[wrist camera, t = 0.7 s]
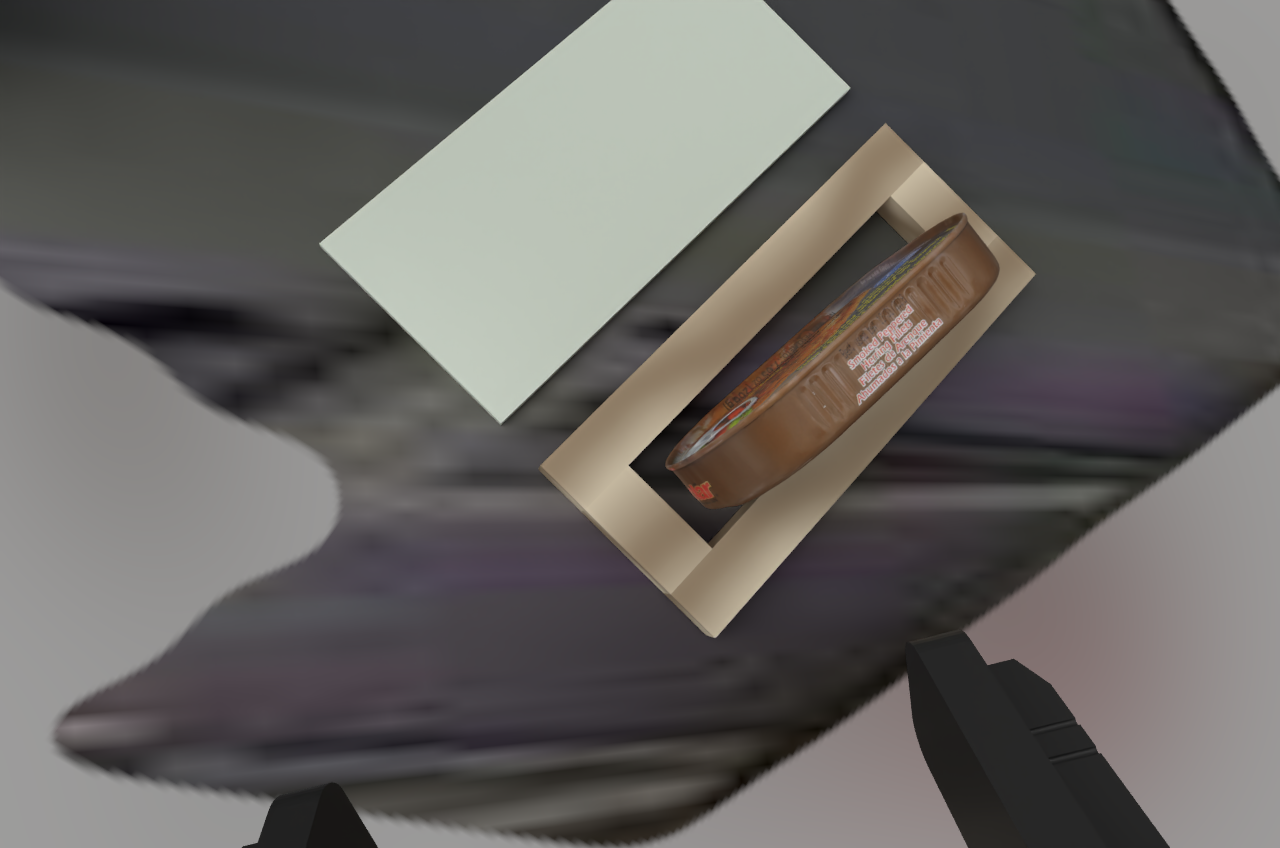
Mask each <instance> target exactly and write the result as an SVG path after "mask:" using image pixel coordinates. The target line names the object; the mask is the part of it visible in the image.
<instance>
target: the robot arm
mask: <svg viewBox="0 0 1280 848" xmlns="http://www.w3.org/2000/svg"><path fill="white" fill-rule="evenodd" d="M905 650H906V661H907V670H908V680H909V690H910V699H911V709H912V718H913V723H914V728H915V732H916V735H917V739H918V742H919V745H920V748H921V751H922V753H923V756H924V758H925V761H926V763H927V765H928V767H929V769H930V771H931V773H932V775H933V777H934V779H935V781H936V784H937V786H938V788H939V790H940V792H941V793H942V796H943V798H944V799H945V802H946V804H947V806H948V808H949V810H950V812H951V814H952V816H953V818H954V820H955V822H956V824H957V826H958V828H959V830H960V832H961V834H962V836H963V838H964V840H965V842H966V844H967V846H968V848H1170V847H1169V846H1168V844H1167V843H1166V842H1165V840H1164V839H1163V838H1162V836H1161V835H1160V833H1159V832H1158V831H1157V829H1156V828H1155V826H1154V825H1153V824H1152V822H1151V821H1150V820H1149V818H1148V817H1147V816H1146V814H1145V813H1144V811H1143V810H1142V809H1141V807H1140V806H1139V805H1138V803H1137V802H1136V801H1135V799H1134V798H1133V796H1132V795H1131V794H1130V792H1129V791H1128V790H1127V788H1126V787H1125V785H1124V784H1123V783H1122V781H1121V780H1120V779H1119V777H1118V776H1117V775H1116V773H1115V772H1114V770H1113V769H1112V768H1111V766H1110V765H1109V763H1108V762H1107V761H1106V759H1105V758H1104V757H1103V756H1102V754H1101V753H1100V754H1099V753H1098V751H1097V749H1096V746H1095V744H1094V743H1093V742H1092V740H1091V739H1090V738H1089V736H1088V735H1087V734H1086V732H1085V731H1084V729H1083V728H1082V727H1081V725H1078V724H1077V722H1076V720H1075V717H1074V716H1073V714H1072V713H1071V712H1070V710H1069V709H1068V707H1067V706H1066V705H1065V703H1064V702H1063V701H1062V699H1061V698H1060V697H1059V695H1058V694H1057V692H1056V691H1055V690H1054V688H1053V687H1052V685H1051V684H1050V683H1048V682H1047V681H1045V680H1044V679H1042V678H1041V677H1039V676H1038V675H1037V674H1035V673H1034V672H1032V671H1031V670H1029V669H1028V668H1026V667H1025V666H1023V665H1022V664H1021V663H1019V662H1018V661H1016V660H1015V659H1011V660H1008V661H1003V662H999V663H996V664H991V665H987V664H986V663H985V661H984V659H983V658H982V656H981V655H980V653H979V652H978V650H977V649H976V647H975V646H974V644H973V643H972V641H971V640H970V638H969V637H968V636H967V634H966V633H965V632H964V631H962V630H955V631H951V632H947V633H943V634H939V635H935V636H931V637H927V638H923V639H919V640H915V641H910V642H907V643H906V649H905ZM242 848H378V847H377V845H376V844H375V842H374V840H373V838H372V837H371V835H370V834H369V832H368V830H367V829H366V827H365V825H364V824H363V822H362V820H361V819H360V817H359V815H358V814H357V812H356V811H355V809H354V807H353V806H352V804H351V802H350V801H349V799H348V797H347V796H346V794H345V792H344V791H343V789H342V788H341V787H340V786H339V785H338V784H336V783H328V784H324V785H320V786H316V787H312V788H307V789H303V790H299V791H295V792H291V793H287V794H283V795H280V796H278V797H277V798H276V799H275V800H274V801H273V803H272V804H271V806H270V809H269V811H268V814H267V817H266V820H265V823H264V826H263V829H262V832H261V835H260V838H259V841H258V843H255V844H251V845H247V846H243V847H242Z"/></svg>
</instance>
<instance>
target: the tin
mask: <svg viewBox="0 0 1280 848" xmlns="http://www.w3.org/2000/svg"><path fill="white" fill-rule="evenodd" d="M999 271H1000V267H999V263H998V261H997V260H996V258H995V256H994V255H993V253H992V252H991V251H990V249H989V248H988V247H987V245H986V244H985V243H984V242H983V240H982V239H981V238H980V236H979V235H978V234H977V233H976V231H975V230H974V229H973V228H972V226H971V225H970V224H969V222H968V218H967V215H966V214H965V213H958V214H955V215H953V216H951V217H949V218H947V219H945V220H943V221H942V222H940V223H938V224H936V225H935V226H933V227H932V228H930V229H929V230H927V231H926V232H924V233H923V234H921V235H920V236H918V237H917V238H915V239H914V240H912V241H911V242H910V243H908V244H907V245H906V246H904V247H903V248H901V249H900V250H899V251H897V252H896V253H894V254H893V255H891V256H890V257H889V258H887V259H886V260H884V261H883V262H881V263H880V264H879V265H877V266H876V267H874V268H873V269H872V270H870V271H869V272H868V273H867V274H865V275H864V276H863V277H862V278H860V279H859V280H858V281H857V282H856V283H854V284H853V285H852V286H851V287H849V288H848V289H847V290H846V291H845V292H843V293H842V294H841V295H840V296H839V297H838V298H837V299H836V300H834V301H833V302H832V303H831V304H830V305H828V306H827V307H826V308H825V309H824V310H823V311H822V312H820V313H819V314H818V315H817V316H816V317H815V318H814V319H813V320H812V321H810V322H809V323H808V324H807V325H806V326H805V327H803V328H802V329H801V330H800V331H799V332H798V333H797V334H796V335H795V336H794V337H792V338H791V339H790V340H789V341H788V342H787V343H786V344H785V345H784V346H782V347H781V348H780V349H779V350H778V351H777V352H776V353H775V354H773V355H772V356H771V357H770V358H769V359H768V360H767V361H766V362H764V363H763V364H762V365H761V366H760V367H759V368H758V369H757V370H755V371H754V372H753V373H752V374H751V375H750V376H749V377H748V378H746V379H745V380H744V381H743V382H742V383H741V384H740V385H738V386H737V387H736V388H735V389H734V390H733V391H732V392H731V393H730V394H728V395H727V396H726V397H725V398H724V399H723V400H722V401H721V402H720V403H718V404H717V405H716V406H715V407H714V408H713V409H712V410H711V411H710V412H709V413H707V414H706V415H705V416H704V417H703V418H702V419H701V420H700V421H699V422H698V423H697V424H696V425H695V426H694V427H693V428H692V429H691V430H690V431H689V432H688V433H687V434H686V435H685V436H684V437H683V438H682V439H681V441H680V442H679V443H678V444H677V445H676V446H675V447H674V449H673V450H672V452H671V453H670V455H669V456H668V458H667V460H666V464H665V466H666V468H667V469H668V470H671V471H673V472H674V473H675V474H676V475H677V477H678V478H679V479H680V480H681V481H682V482H683V483H684V485H685V486H686V487H687V488H688V490H689V491H690V492H691V493H692V495H693V496H694V497H695V498H696V499H697V500H698V501H699V502H700V503H701V504H702V505H703V506H704V507H706V508H708V509H719V508H724V507H732V506H738V505H742V504H745V503H747V502H750V501H752V500H754V499H755V498H757V497H759V496H761V495H763V494H764V493H766V492H768V491H769V490H771V489H772V488H774V487H776V486H777V485H779V484H780V483H782V482H783V481H785V480H786V479H788V478H789V477H791V476H792V475H793V474H795V473H796V472H797V471H799V470H800V469H801V468H803V467H804V466H805V465H807V464H808V463H809V462H810V461H812V460H813V459H814V458H815V457H816V456H818V455H819V454H820V453H821V452H823V451H824V450H825V449H826V448H827V447H829V446H830V445H831V444H832V443H833V442H834V441H835V440H836V439H837V438H839V437H840V436H841V435H842V434H843V433H844V432H845V431H846V430H847V429H848V428H849V427H850V426H851V425H852V424H853V423H855V422H856V421H857V420H858V419H859V418H860V417H861V416H862V415H863V414H864V413H865V412H866V411H867V410H869V409H870V408H871V407H872V406H873V405H874V404H875V403H876V402H877V401H878V400H879V399H880V398H881V397H882V396H883V395H884V394H885V393H887V392H888V391H889V390H890V389H891V388H892V387H893V386H894V385H895V384H896V383H897V382H898V381H899V380H900V379H901V378H902V377H904V376H905V375H906V374H907V373H908V372H909V371H910V370H911V369H912V368H913V367H914V366H915V365H916V364H917V363H918V362H919V361H920V360H921V359H922V358H923V357H924V356H925V355H926V354H927V353H928V352H930V351H931V350H932V349H933V348H934V347H935V346H936V345H937V344H938V343H939V342H940V341H941V340H942V339H943V338H944V337H945V336H946V335H947V334H948V333H949V332H950V331H951V330H952V329H953V328H954V327H955V326H956V325H957V324H958V323H959V322H960V321H961V320H962V319H963V318H964V317H965V316H966V315H967V314H968V313H969V312H970V311H971V310H972V309H974V308H975V306H976V305H977V304H978V303H979V302H980V301H981V300H982V299H983V298H984V297H985V295H986V294H987V293H988V292H989V290H990V289H991V288H992V286H993V285H994V283H995V282H996V280H997V278H998V275H999Z"/></svg>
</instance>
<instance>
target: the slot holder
mask: <svg viewBox="0 0 1280 848" xmlns="http://www.w3.org/2000/svg"><path fill="white" fill-rule="evenodd" d="M875 212H877V213H878V214H879V215H880V216H881V217H882V218H883V219H884V220H885V221H886V222H887V223H888V224H889V225H890V226H891V227H892V228H893V229H894V230H895V231H896V232H897V233H898V234H899V235H900V236H901V237H902V238H903V239H904V240H905V241H906V242H907V243H910V242H911V241H912V240H914V239H915V238H917V237H918V236H920V235H921V234H923V233H924V232H926V231H927V230H929V229H930V228H932V227H933V226H935V225H936V224H938V223H940V222H942V221H943V220H945V219H947V218H949V217H951V216H953V215H955V214H958V213H965V214H966V215H967V218H968V222H969V224H970V225H971V226H972V228H973V229H974V230H975V231H976V233H977V234H978V235H979V236H980V238H981V239H982V240H983V242H984V243H985V244H986V245H987V247H988V248H989V249H990V251H991V252H992V253H993V255H994V256H995V258H996V260H997V261H998V263H999V267H1000V271H999V275H998V278H997V280H996V282H995V283H994V285H993V286H992V288H991V289H990V290H989V292H988V293H987V294H986V295H985V297H984V298H983V299H982V300H981V301H980V302H979V303H978V304H977V305H976V306H975V308H974V309H972V310H971V311H970V312H969V313H968V314H967V315H966V316H965V317H964V318H963V319H962V320H961V321H960V322H959V323H958V324H957V325H956V326H955V327H954V328H953V329H952V330H951V331H950V332H949V333H948V334H947V335H946V336H945V337H944V338H943V339H942V340H941V341H940V342H939V343H938V344H937V345H936V346H935V347H934V348H933V349H932V350H931V351H930V352H928V353H927V354H926V355H925V356H924V357H923V358H922V359H921V360H920V361H919V362H918V363H917V364H916V365H915V366H914V367H913V368H912V369H911V370H910V371H909V372H908V373H907V374H906V375H905V376H904V377H902V378H901V379H900V380H899V381H898V382H897V383H896V384H895V385H894V386H893V387H892V388H891V389H890V390H889V391H888V392H887V393H885V394H884V395H883V396H882V397H881V398H880V399H879V400H878V401H877V402H876V403H875V404H874V405H873V406H872V407H871V408H870V409H869V410H867V411H866V412H865V413H864V414H863V415H862V416H861V417H860V418H859V419H858V420H857V421H856V422H855V423H853V424H852V425H851V426H850V427H849V428H848V429H847V430H846V431H845V432H844V433H843V434H842V435H841V436H840V437H839V438H837V439H836V440H835V441H834V442H833V443H832V444H831V445H830V446H829V447H827V448H826V449H825V450H824V451H823V452H821V453H820V454H819V455H818V456H816V457H815V458H814V459H813V460H812V461H810V462H809V463H808V464H807V465H805V466H804V467H803V468H801V469H800V470H799V471H797V472H796V473H795V474H793V475H792V476H791V477H789V478H788V479H786V480H785V481H783V482H782V483H780V484H779V485H777V486H776V487H774V488H772V489H771V490H769V491H768V492H766V493H764V494H763V495H761V496H759V497H757V498H755V499H754V500H752V501H750V502H747V503H745V504H744V505H743V506H742V507H741V508H740V509H739V510H738V511H737V512H736V513H735V514H734V516H733V517H732V518H731V519H730V520H729V521H728V522H727V523H726V524H725V525H724V526H723V528H722V529H721V530H720V531H719V532H718V533H717V534H716V535H715V536H714V537H713V539H712V540H711V541H710V542H709V543H708V544H707V543H706V542H705V541H704V540H703V539H702V538H701V537H700V536H699V535H698V534H697V533H696V532H695V531H694V530H693V529H692V528H691V527H690V526H689V525H688V524H687V523H686V522H685V521H684V520H683V519H682V518H681V517H680V516H679V515H678V514H677V513H676V512H675V511H674V510H673V509H672V508H671V507H670V506H669V505H668V504H667V503H666V502H665V501H664V500H663V499H662V498H661V497H660V496H659V495H658V494H657V493H656V492H655V491H654V490H653V489H652V488H651V487H650V486H649V485H648V484H647V483H646V482H645V481H644V480H643V479H642V478H641V477H640V476H639V475H638V474H636V473H635V472H634V471H633V470H632V469H631V468H630V467H629V466H628V465H629V464H630V463H631V462H632V461H633V460H634V459H635V458H636V457H637V456H638V455H639V454H640V453H641V452H642V451H643V450H644V449H645V448H646V447H647V446H648V445H649V444H650V443H651V442H652V441H653V440H654V439H655V437H656V436H657V435H658V434H659V433H660V432H661V431H662V430H663V429H664V428H665V427H666V426H667V425H668V424H669V423H670V422H671V421H672V420H673V419H674V418H675V417H676V416H677V415H678V414H679V413H680V412H681V411H682V410H683V409H684V408H685V407H686V406H687V405H688V404H689V403H690V402H691V401H692V399H693V398H694V397H695V396H696V395H697V394H698V393H699V392H700V391H701V390H702V389H703V388H704V387H705V386H706V385H707V384H708V383H709V382H710V381H711V380H712V379H713V378H714V377H715V376H716V375H717V374H718V373H719V372H720V371H721V370H722V369H723V368H724V367H725V366H726V365H727V364H728V363H729V362H730V360H731V359H732V358H733V357H734V356H735V355H736V354H737V353H738V352H739V351H740V350H741V349H742V348H743V347H744V346H745V345H746V344H747V343H748V342H749V341H750V340H751V339H752V338H753V337H754V336H755V335H756V334H757V333H758V332H759V331H760V330H761V329H762V328H763V327H764V326H765V325H766V324H767V322H768V321H769V320H770V319H771V318H772V317H773V316H774V315H775V314H776V313H777V312H778V311H779V310H780V309H781V308H782V307H783V306H784V305H785V304H786V303H787V302H788V301H789V300H790V299H791V298H792V297H793V296H794V295H795V294H796V293H797V292H798V291H799V290H800V289H801V288H802V287H803V286H804V284H805V283H806V282H807V281H808V280H809V279H810V278H811V277H812V276H813V275H814V274H815V273H816V272H817V271H818V270H819V269H820V268H821V267H822V266H823V265H824V264H825V263H826V262H827V261H828V260H829V259H830V258H831V257H832V256H833V255H834V254H835V253H836V252H837V251H838V250H839V249H840V248H841V247H842V245H843V244H844V243H845V242H846V241H847V240H848V239H849V238H850V237H851V236H852V235H853V234H854V233H855V232H856V231H857V230H858V229H859V228H860V227H861V226H862V225H863V224H864V223H865V222H866V221H867V220H868V219H869V218H870V217H871V216H872V215H873V214H874V213H875ZM1034 275H1035V273H1034V272H1033V271H1032V270H1031V269H1030V268H1029V267H1028V266H1027V265H1026V264H1025V263H1024V262H1023V261H1022V260H1021V259H1020V258H1019V257H1018V256H1017V255H1016V254H1015V253H1014V252H1013V251H1012V250H1011V249H1010V248H1009V247H1008V246H1007V245H1006V244H1005V243H1004V242H1003V241H1002V240H1001V239H1000V238H999V237H998V236H997V235H996V234H995V233H994V232H993V231H992V230H991V229H990V228H989V227H988V226H987V225H986V224H985V223H984V222H983V221H982V220H981V218H980V217H979V216H978V215H977V214H976V213H975V212H974V211H973V210H972V209H971V208H970V207H969V206H968V205H967V204H966V203H965V202H964V201H963V200H962V199H961V198H960V197H959V196H958V195H957V194H956V193H955V192H954V191H953V190H952V189H951V188H950V187H949V186H948V185H947V184H946V183H945V182H944V181H943V180H942V179H941V178H940V177H939V176H938V175H937V174H936V173H935V172H934V171H933V170H932V169H931V168H930V167H929V166H928V165H927V164H926V163H925V162H924V161H923V160H922V159H921V158H920V157H919V156H918V155H917V154H916V153H915V152H914V151H913V150H912V149H911V148H910V147H909V146H908V145H907V144H906V143H905V142H904V141H903V140H902V139H901V138H900V137H899V136H898V135H897V134H896V133H895V132H894V131H893V130H892V129H891V128H890V127H889V126H888V125H887V124H886V123H885V124H884V125H883V126H882V127H881V128H880V129H879V130H878V131H877V132H876V133H875V134H874V135H873V136H872V137H871V138H870V139H869V140H868V141H867V142H866V143H865V144H864V145H863V146H862V147H861V148H860V149H859V150H858V151H857V152H856V153H855V154H854V155H853V156H852V157H851V158H850V159H849V160H848V161H847V162H846V163H845V164H844V165H843V166H842V167H841V168H840V169H839V170H838V171H837V172H836V173H835V174H834V175H833V176H832V177H831V178H830V179H829V180H828V181H827V182H826V183H825V184H824V185H823V186H822V187H821V188H820V189H819V190H818V191H817V192H816V193H815V194H814V195H813V196H812V197H811V198H810V199H809V200H808V201H807V202H806V203H805V204H804V205H803V206H802V207H801V208H800V209H799V210H798V211H797V212H796V213H795V214H794V215H792V216H791V217H790V218H789V219H788V220H787V221H786V222H785V223H784V224H783V225H782V226H781V227H780V228H779V229H778V230H777V231H776V232H775V233H774V234H773V235H772V236H771V237H770V238H769V239H768V240H767V241H766V242H765V243H764V244H763V245H762V246H761V247H760V248H759V249H758V250H757V251H756V252H755V253H754V254H753V255H752V256H751V257H750V258H749V259H748V260H747V261H746V262H745V263H744V264H743V265H742V266H741V267H740V268H739V269H738V270H737V271H736V272H735V273H734V274H733V275H732V276H731V277H730V278H729V279H728V280H727V281H726V282H725V283H724V284H723V285H722V286H721V287H720V288H719V289H718V290H717V291H716V292H715V293H714V294H713V295H712V296H711V297H710V298H709V299H708V300H707V301H706V302H705V303H704V304H703V305H702V306H701V307H700V308H699V309H698V310H697V311H696V312H695V313H694V314H693V315H692V316H691V317H690V318H689V319H688V320H687V321H686V322H685V323H684V324H683V325H682V326H681V327H680V328H679V329H678V330H677V331H675V332H674V333H673V334H672V335H671V336H670V337H669V338H668V339H667V340H666V341H665V342H664V343H663V344H662V345H661V346H660V347H659V348H658V349H657V350H656V351H655V352H654V353H653V354H652V355H651V356H650V357H649V358H648V359H647V360H646V361H645V362H644V363H643V364H642V365H641V366H640V367H639V368H638V369H637V370H636V371H635V372H634V373H633V374H632V375H631V376H630V377H629V378H628V379H627V380H626V381H625V382H624V383H623V384H622V385H621V386H620V387H619V388H618V389H617V390H616V391H615V392H614V393H613V394H612V395H611V396H610V397H609V398H608V399H607V400H606V401H605V402H604V403H603V404H602V405H601V406H600V407H599V408H598V409H597V410H596V411H595V412H594V413H593V414H592V415H591V416H590V417H589V418H588V419H587V420H586V421H585V422H584V423H583V424H582V425H581V426H580V427H579V428H578V429H577V430H576V431H575V432H574V433H573V434H572V435H571V436H570V437H569V438H568V439H567V440H566V441H565V442H564V443H563V444H562V445H561V446H560V447H558V448H557V449H556V450H555V451H554V452H553V453H552V454H551V455H550V456H549V457H548V458H547V459H546V460H545V461H544V462H543V463H542V464H541V465H540V467H539V469H538V470H539V471H540V472H541V473H542V474H543V475H544V476H545V477H546V478H547V479H548V480H549V481H550V482H551V483H552V484H553V485H555V486H556V487H557V488H558V489H559V490H560V491H561V492H562V493H563V494H564V495H565V496H566V497H567V498H568V499H569V500H570V501H571V502H572V503H573V504H574V505H575V506H576V507H577V508H578V509H579V510H580V511H581V512H582V513H583V514H584V515H585V516H586V517H587V518H588V519H589V520H590V521H591V522H592V523H593V524H594V525H595V526H596V527H597V528H598V529H599V530H600V531H601V532H602V533H603V534H604V535H605V536H606V537H607V538H608V539H609V540H610V541H611V542H612V543H613V544H614V545H615V546H616V547H617V548H618V549H619V550H620V551H621V552H622V553H623V554H624V555H625V556H626V557H627V558H628V559H629V560H630V561H631V562H632V563H633V564H634V565H635V566H636V567H638V568H639V569H640V570H641V571H642V572H643V573H644V574H645V575H646V576H647V577H648V578H649V579H650V580H651V581H652V582H653V583H654V584H655V585H656V586H657V587H658V588H659V589H660V590H661V591H662V592H663V593H664V594H665V595H666V596H667V597H668V598H669V599H670V600H671V601H672V602H673V603H674V604H675V605H676V606H677V607H678V608H679V609H680V610H681V611H682V612H683V613H684V614H685V615H686V616H687V617H688V618H689V619H690V620H691V621H692V622H693V623H694V624H695V625H696V626H697V627H698V628H699V629H700V630H701V631H702V632H703V633H704V634H705V635H708V636H710V637H713V638H716V637H717V636H718V635H719V634H720V632H721V631H722V630H723V629H724V628H725V627H726V626H727V625H728V623H729V622H730V621H731V620H732V619H733V618H734V617H735V615H736V614H737V613H738V612H739V611H740V610H741V609H742V607H743V606H744V605H745V604H746V603H747V602H748V601H749V599H750V598H751V597H752V596H753V595H754V594H755V593H756V592H757V590H758V589H759V588H760V587H761V586H762V585H763V584H764V582H765V581H766V580H767V579H768V578H769V577H770V576H771V574H772V573H773V572H774V571H775V570H776V569H777V568H778V567H779V565H780V564H781V563H782V562H783V561H784V560H785V559H786V557H787V556H788V555H789V554H790V553H791V552H792V551H793V549H794V548H795V547H796V546H797V545H798V544H799V543H800V541H801V540H802V539H803V538H804V537H805V536H806V535H807V534H808V532H809V531H810V530H811V529H812V528H813V527H814V526H815V524H816V523H817V522H818V521H819V520H820V519H821V518H822V516H823V515H824V514H825V513H826V512H827V511H828V510H829V509H830V507H831V506H832V505H833V504H834V503H835V502H836V501H837V499H838V498H839V497H840V496H841V495H842V494H843V493H844V491H845V490H846V489H847V488H848V487H849V486H850V485H851V483H852V482H853V481H854V480H855V479H856V478H857V477H858V476H859V474H860V473H861V472H862V471H863V470H864V469H865V468H866V466H867V465H868V464H869V463H870V462H871V461H872V460H873V458H874V457H875V456H876V455H877V454H878V453H879V452H880V451H881V449H882V448H883V447H884V446H885V445H886V444H887V443H888V441H889V440H890V439H891V438H892V437H893V436H894V435H895V433H896V432H897V431H898V430H899V429H900V428H901V427H902V425H903V424H904V423H905V422H906V421H907V420H908V419H909V418H910V416H911V415H912V414H913V413H914V412H915V411H916V410H917V408H918V407H919V406H920V405H921V404H922V403H923V402H924V400H925V399H926V398H927V397H928V396H929V395H930V394H931V393H932V391H933V390H934V389H935V388H936V387H937V386H938V385H939V383H940V382H941V381H942V380H943V379H944V378H945V377H946V375H947V374H948V373H949V372H950V371H951V370H952V369H953V367H954V366H955V365H956V364H957V363H958V362H959V361H960V360H961V358H962V357H963V356H964V355H965V354H966V353H967V352H968V350H969V349H970V348H971V347H972V346H973V345H974V344H975V342H976V341H977V340H978V339H979V338H980V337H981V336H982V335H983V333H984V332H985V331H986V330H987V329H988V328H989V327H990V325H991V324H992V323H993V322H994V321H995V320H996V319H997V317H998V316H999V315H1000V314H1001V313H1002V312H1003V311H1004V309H1005V308H1006V307H1007V306H1008V305H1009V304H1010V303H1011V302H1012V300H1013V299H1014V298H1015V297H1016V296H1017V295H1018V294H1019V292H1020V291H1021V290H1022V289H1023V288H1024V287H1025V286H1026V284H1027V283H1028V282H1029V281H1030V280H1031V279H1032V278H1033V277H1034Z"/></svg>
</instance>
